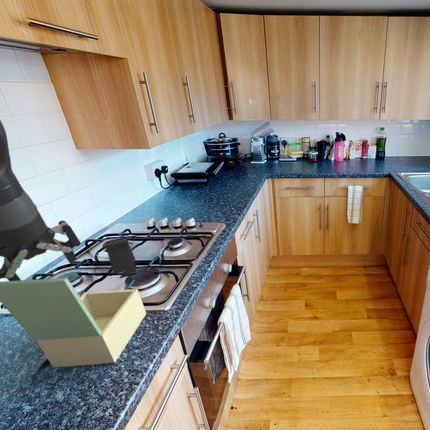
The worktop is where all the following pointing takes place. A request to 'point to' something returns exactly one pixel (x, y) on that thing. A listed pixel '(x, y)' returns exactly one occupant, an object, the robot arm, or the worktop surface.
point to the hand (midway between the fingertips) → (47, 272)
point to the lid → (48, 309)
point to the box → (109, 325)
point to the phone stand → (121, 256)
